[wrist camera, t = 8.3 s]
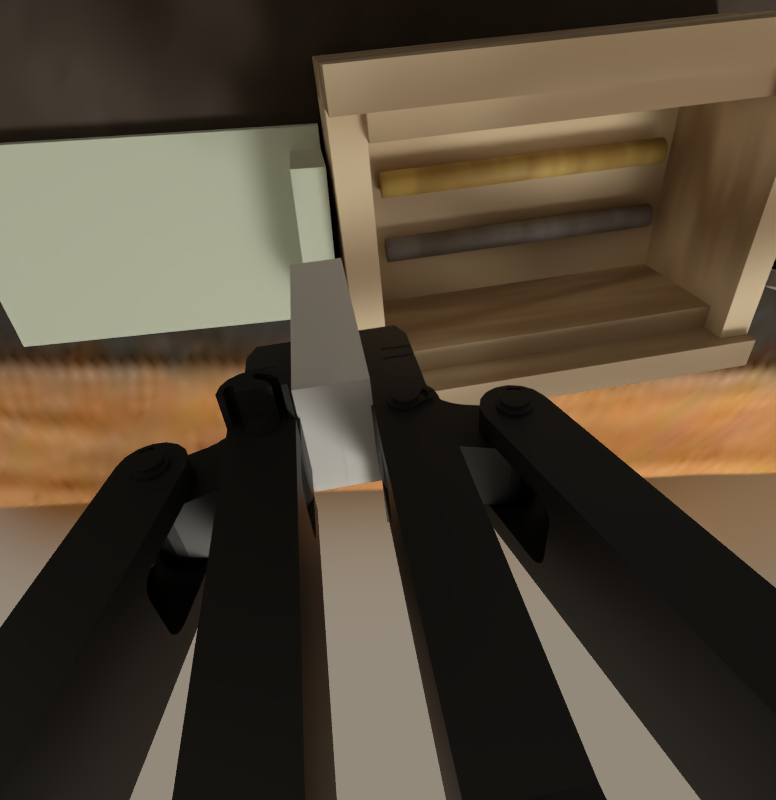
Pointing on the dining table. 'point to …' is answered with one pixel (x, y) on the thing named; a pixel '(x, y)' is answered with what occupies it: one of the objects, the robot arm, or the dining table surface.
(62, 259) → the lid
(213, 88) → the dining table surface
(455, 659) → the robot arm
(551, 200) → the pencil box
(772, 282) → the electrical switch
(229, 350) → the dining table surface
